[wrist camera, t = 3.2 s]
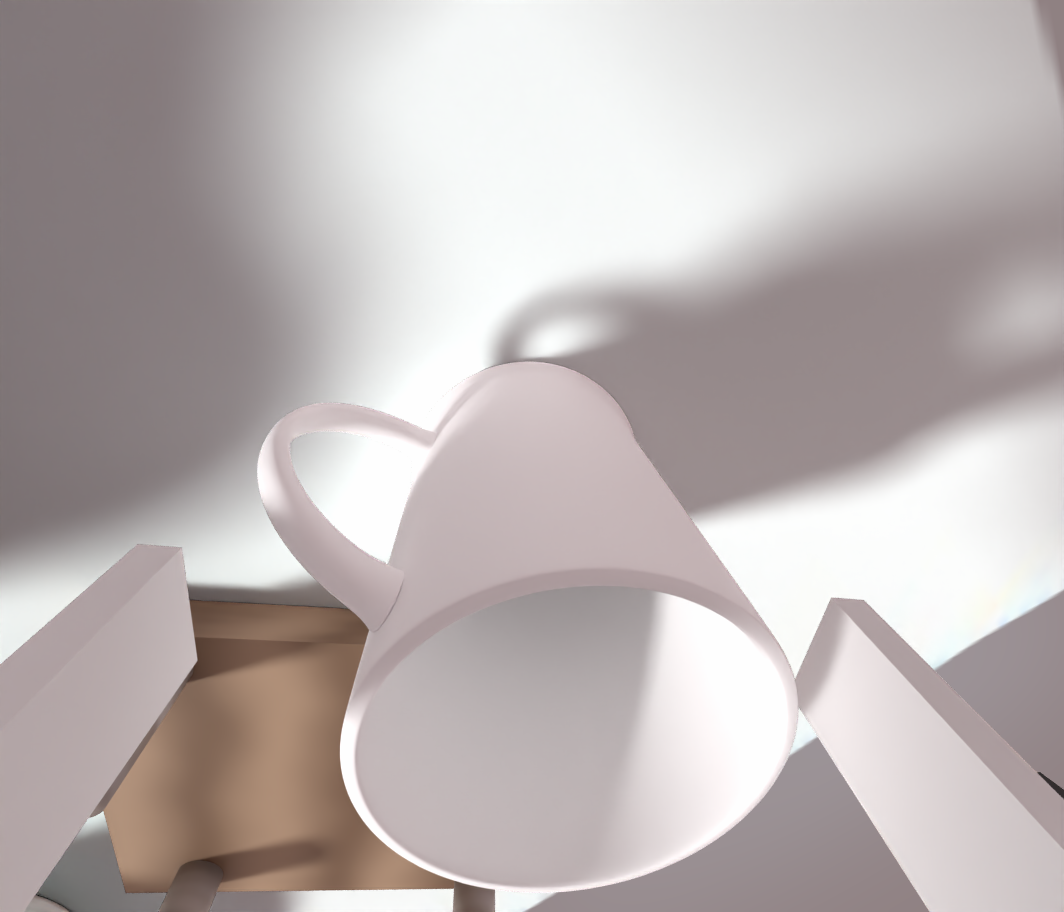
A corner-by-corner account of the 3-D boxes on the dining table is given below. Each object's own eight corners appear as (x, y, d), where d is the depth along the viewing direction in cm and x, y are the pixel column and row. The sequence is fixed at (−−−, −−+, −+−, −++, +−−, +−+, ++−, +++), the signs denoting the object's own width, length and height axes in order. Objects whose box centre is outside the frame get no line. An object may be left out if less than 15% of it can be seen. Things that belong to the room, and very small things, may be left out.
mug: (290, 431, 19) (14, 720, 8) (438, 239, 17) (349, 260, 6) (534, 596, 23) (581, 946, 12) (680, 457, 20) (907, 723, 9)
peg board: (150, 847, 27) (45, 1041, 20) (92, 594, 21) (-84, 759, 14) (535, 846, 29) (549, 1018, 23) (585, 621, 23) (624, 771, 17)
